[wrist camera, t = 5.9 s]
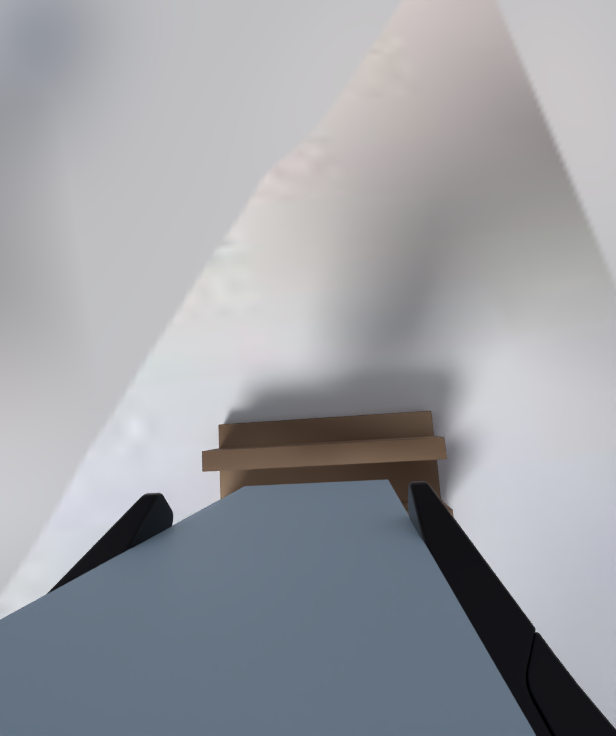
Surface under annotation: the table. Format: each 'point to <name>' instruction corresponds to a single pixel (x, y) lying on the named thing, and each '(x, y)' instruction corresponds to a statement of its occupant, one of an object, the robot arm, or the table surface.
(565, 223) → the table surface
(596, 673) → the table surface
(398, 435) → the rack
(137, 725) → the board
